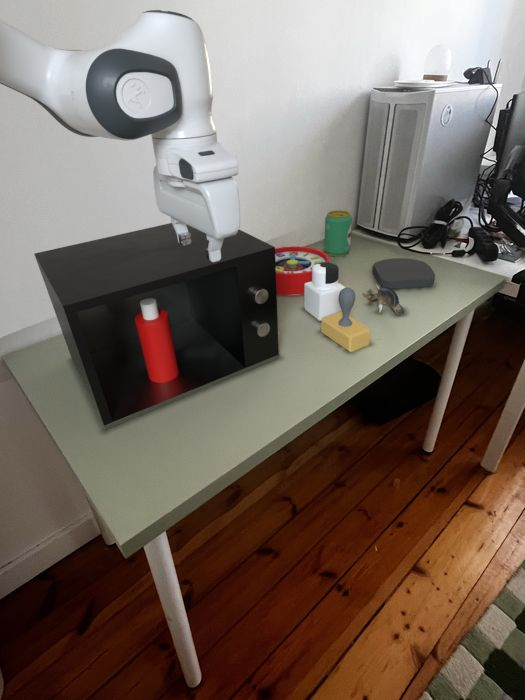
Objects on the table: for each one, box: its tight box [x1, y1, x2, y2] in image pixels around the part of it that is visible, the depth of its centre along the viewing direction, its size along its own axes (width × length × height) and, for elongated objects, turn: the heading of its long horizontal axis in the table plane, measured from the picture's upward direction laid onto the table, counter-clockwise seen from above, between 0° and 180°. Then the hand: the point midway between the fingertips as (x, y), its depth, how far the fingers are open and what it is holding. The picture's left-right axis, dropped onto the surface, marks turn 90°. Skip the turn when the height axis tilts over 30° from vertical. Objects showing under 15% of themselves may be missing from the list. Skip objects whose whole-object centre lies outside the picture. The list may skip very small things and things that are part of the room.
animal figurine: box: [362, 284, 406, 316], centre depth 103 cm, size 8×7×9 cm
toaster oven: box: [33, 222, 280, 431], centre depth 84 cm, size 36×27×24 cm
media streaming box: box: [372, 257, 436, 289], centre depth 118 cm, size 15×15×3 cm
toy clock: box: [275, 245, 330, 296], centre depth 120 cm, size 20×6×20 cm
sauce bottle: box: [135, 298, 179, 383], centre depth 81 cm, size 6×6×16 cm
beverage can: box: [323, 209, 353, 257], centre depth 134 cm, size 8×8×12 cm
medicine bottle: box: [303, 261, 347, 322], centre depth 102 cm, size 7×7×12 cm
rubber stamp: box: [320, 287, 372, 353], centre depth 91 cm, size 10×6×12 cm, turn 31°
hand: (198, 251), depth 69 cm, fingers open, 8 cm apart
